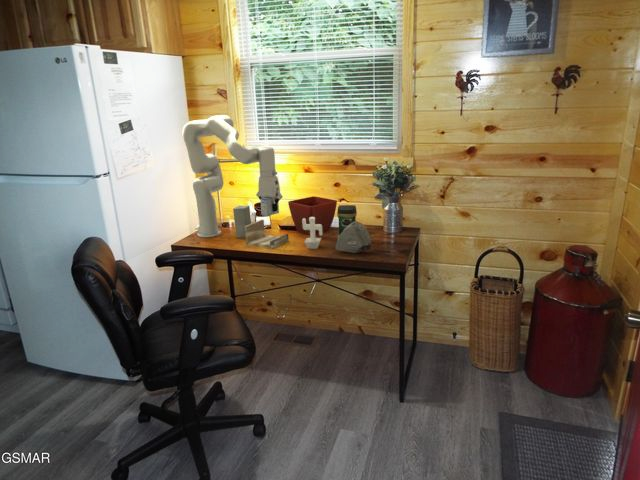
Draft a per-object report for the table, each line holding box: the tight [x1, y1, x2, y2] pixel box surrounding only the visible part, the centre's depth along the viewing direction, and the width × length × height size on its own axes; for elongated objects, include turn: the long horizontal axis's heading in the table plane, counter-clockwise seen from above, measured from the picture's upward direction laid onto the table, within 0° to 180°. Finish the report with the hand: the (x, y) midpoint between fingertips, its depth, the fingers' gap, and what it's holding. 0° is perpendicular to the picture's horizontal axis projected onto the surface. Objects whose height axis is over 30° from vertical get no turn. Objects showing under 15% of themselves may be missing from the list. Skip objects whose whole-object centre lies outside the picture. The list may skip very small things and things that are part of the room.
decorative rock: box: [335, 220, 372, 254], centre depth 214 cm, size 16×7×15 cm, turn 74°
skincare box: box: [232, 205, 252, 239], centre depth 246 cm, size 8×7×16 cm
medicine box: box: [259, 196, 280, 217], centre depth 228 cm, size 8×4×9 cm, turn 137°
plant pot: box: [287, 195, 338, 236], centre depth 249 cm, size 19×19×17 cm
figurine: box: [302, 217, 324, 250], centre depth 223 cm, size 7×9×15 cm
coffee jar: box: [336, 204, 358, 238], centre depth 230 cm, size 10×8×19 cm
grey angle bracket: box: [245, 219, 289, 249], centre depth 234 cm, size 16×14×10 cm
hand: (270, 210), depth 229 cm, fingers closed on medicine box, 5 cm apart
